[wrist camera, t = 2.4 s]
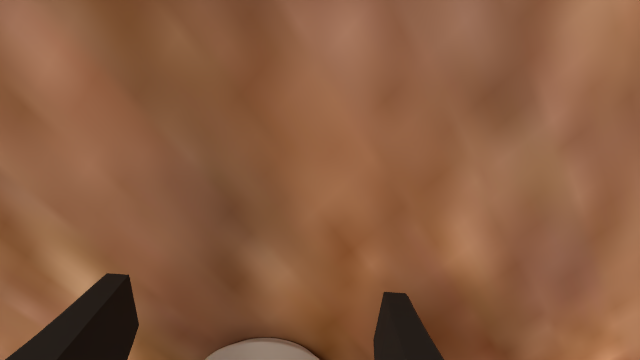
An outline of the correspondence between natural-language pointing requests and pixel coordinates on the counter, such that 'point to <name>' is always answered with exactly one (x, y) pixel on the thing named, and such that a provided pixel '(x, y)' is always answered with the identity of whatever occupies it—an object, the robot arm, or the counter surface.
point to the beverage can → (263, 351)
